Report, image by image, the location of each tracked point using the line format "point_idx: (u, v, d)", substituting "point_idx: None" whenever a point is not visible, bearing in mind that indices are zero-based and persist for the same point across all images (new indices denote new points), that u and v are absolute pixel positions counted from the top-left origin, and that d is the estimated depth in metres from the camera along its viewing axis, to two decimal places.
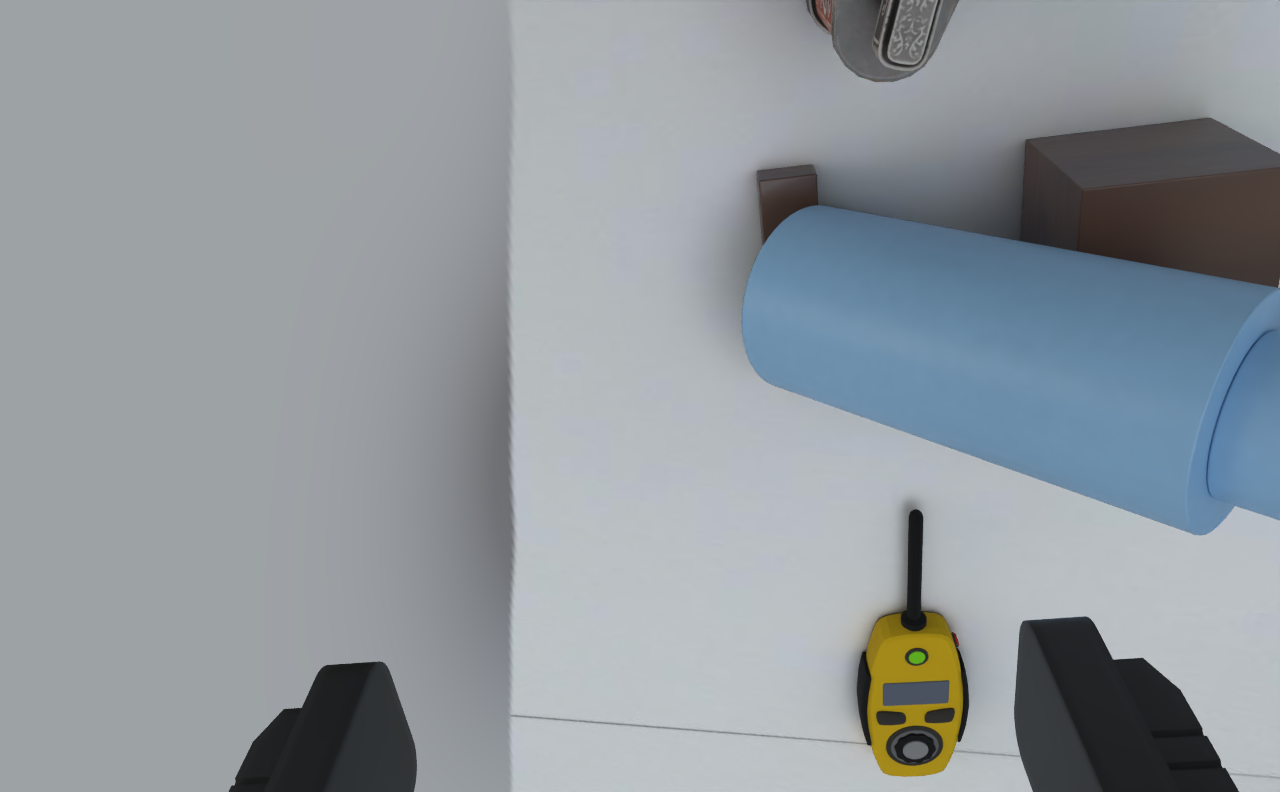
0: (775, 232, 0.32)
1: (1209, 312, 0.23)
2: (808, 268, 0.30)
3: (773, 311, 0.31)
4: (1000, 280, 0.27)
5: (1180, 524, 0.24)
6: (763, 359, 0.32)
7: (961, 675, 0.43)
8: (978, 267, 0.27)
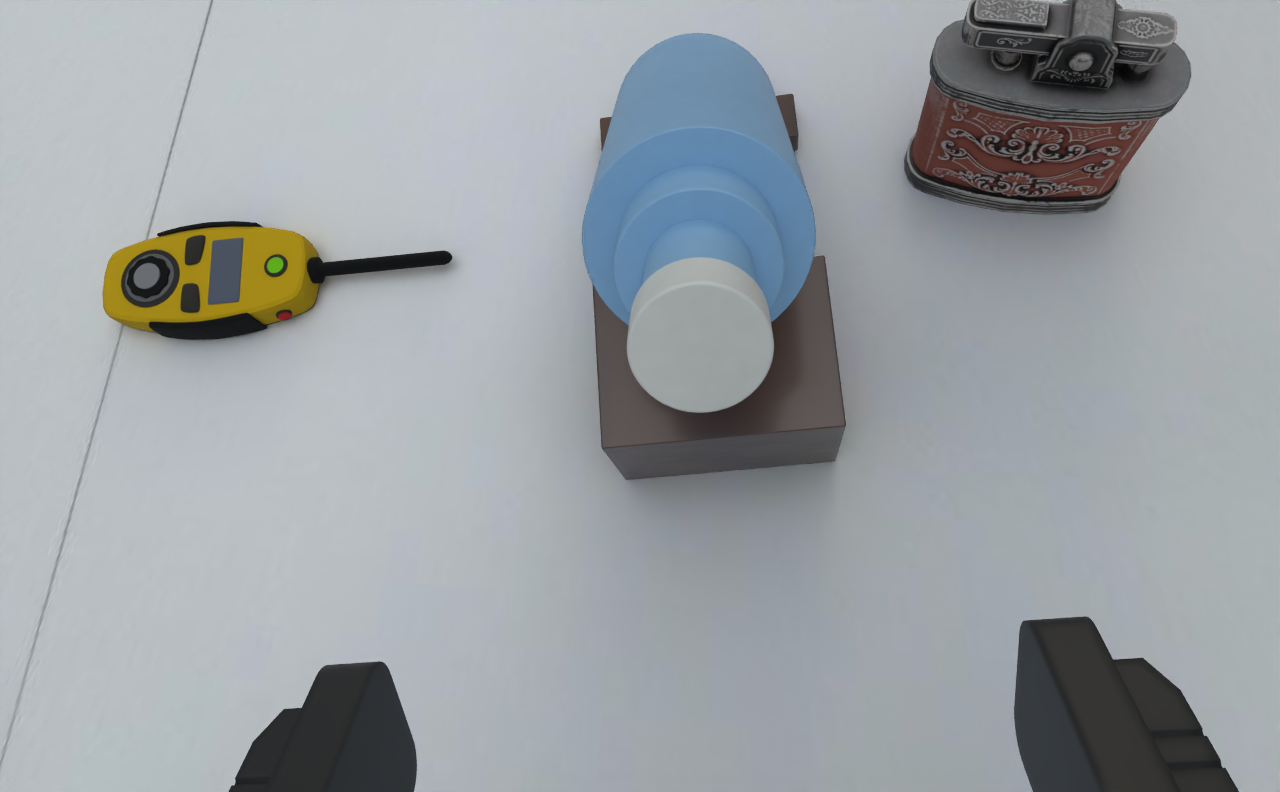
0: None
1: (804, 185, 0.27)
2: (753, 64, 0.36)
3: (714, 40, 0.36)
4: (783, 125, 0.31)
5: (614, 159, 0.26)
6: (664, 43, 0.37)
7: (243, 313, 0.40)
8: (784, 127, 0.32)
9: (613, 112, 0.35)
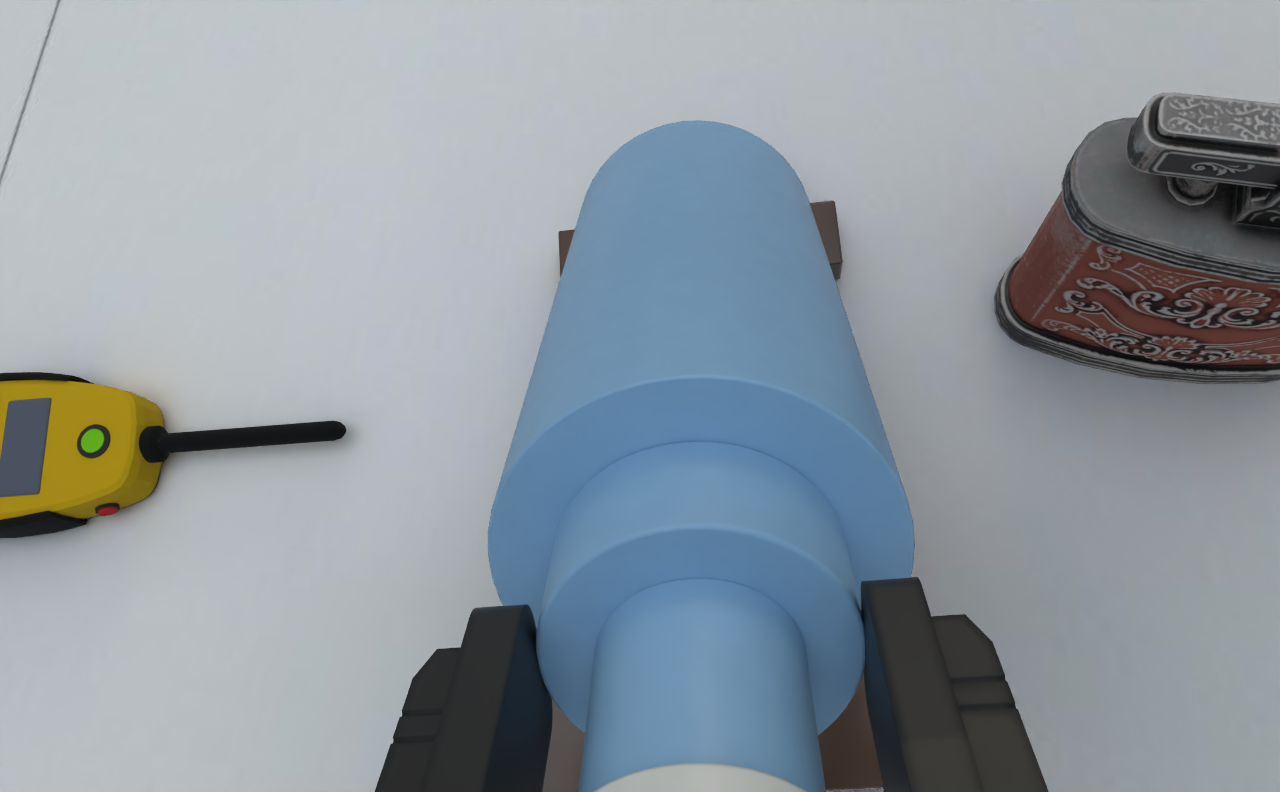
0: (798, 178, 0.26)
1: (892, 459, 0.15)
2: (781, 173, 0.24)
3: (723, 136, 0.24)
4: (838, 300, 0.19)
5: (543, 423, 0.14)
6: (649, 137, 0.25)
7: (45, 511, 0.28)
8: (838, 296, 0.20)
9: None
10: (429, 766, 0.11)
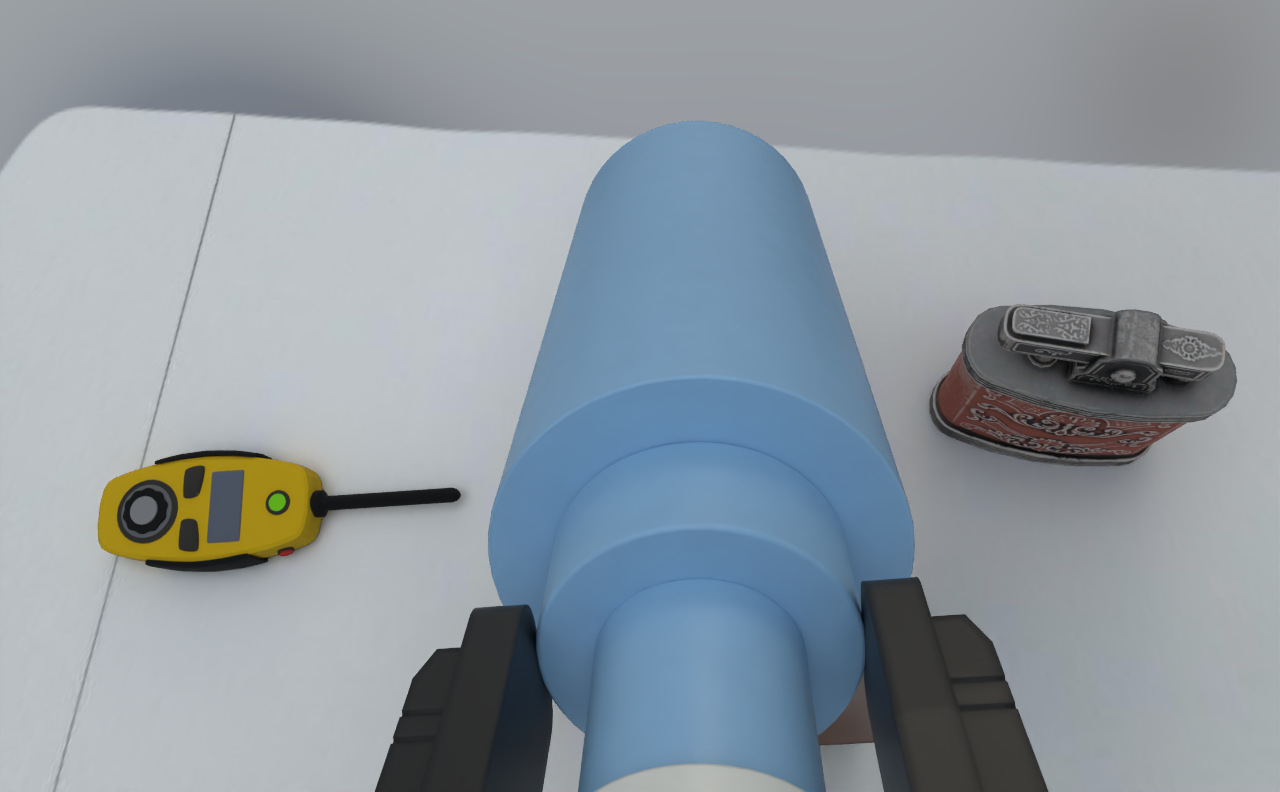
0: None
1: (893, 460, 0.15)
2: (782, 173, 0.24)
3: (723, 136, 0.24)
4: (838, 300, 0.19)
5: (543, 423, 0.14)
6: (650, 137, 0.25)
7: (244, 554, 0.39)
8: (839, 296, 0.20)
9: (570, 248, 0.23)
10: (429, 766, 0.11)
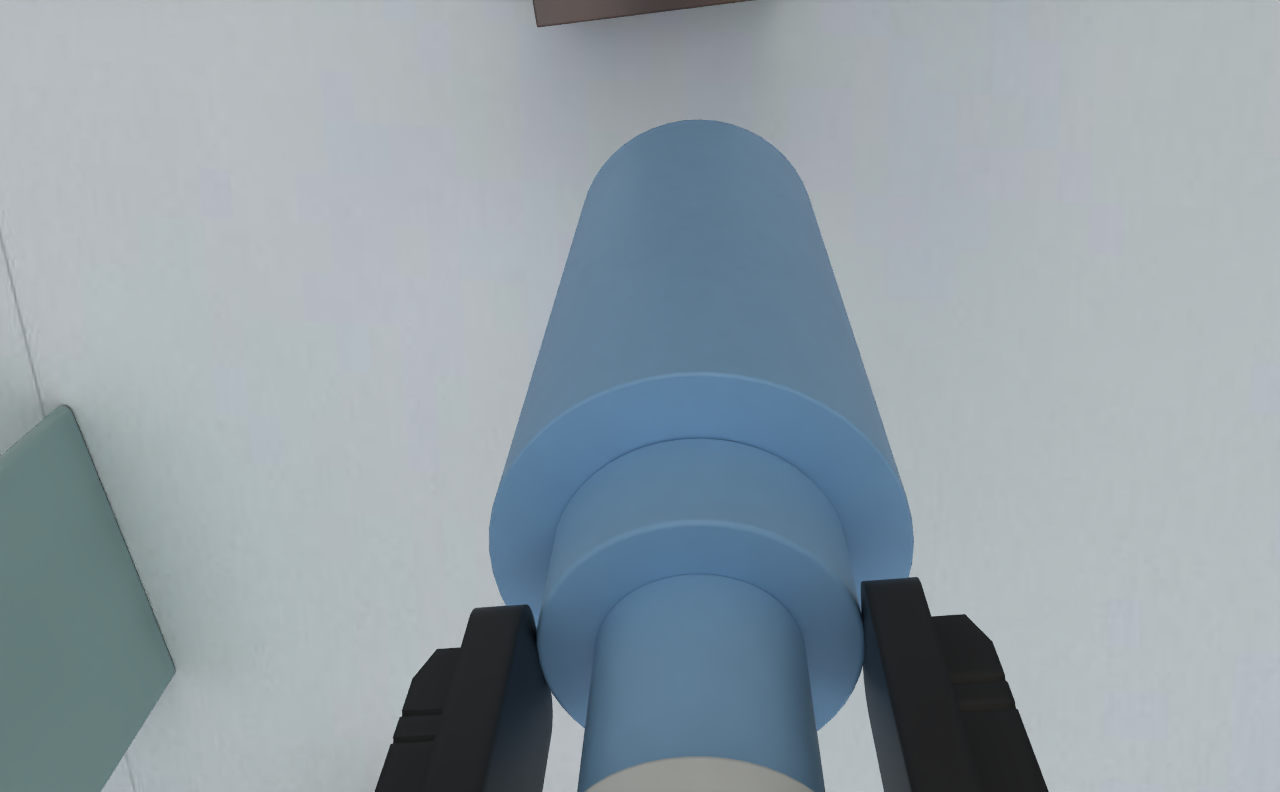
0: (799, 177, 0.26)
1: (892, 456, 0.15)
2: (782, 172, 0.24)
3: (724, 135, 0.24)
4: (838, 298, 0.19)
5: (544, 420, 0.14)
6: (650, 136, 0.25)
7: None
8: (839, 294, 0.20)
9: (571, 246, 0.23)
10: (429, 766, 0.11)
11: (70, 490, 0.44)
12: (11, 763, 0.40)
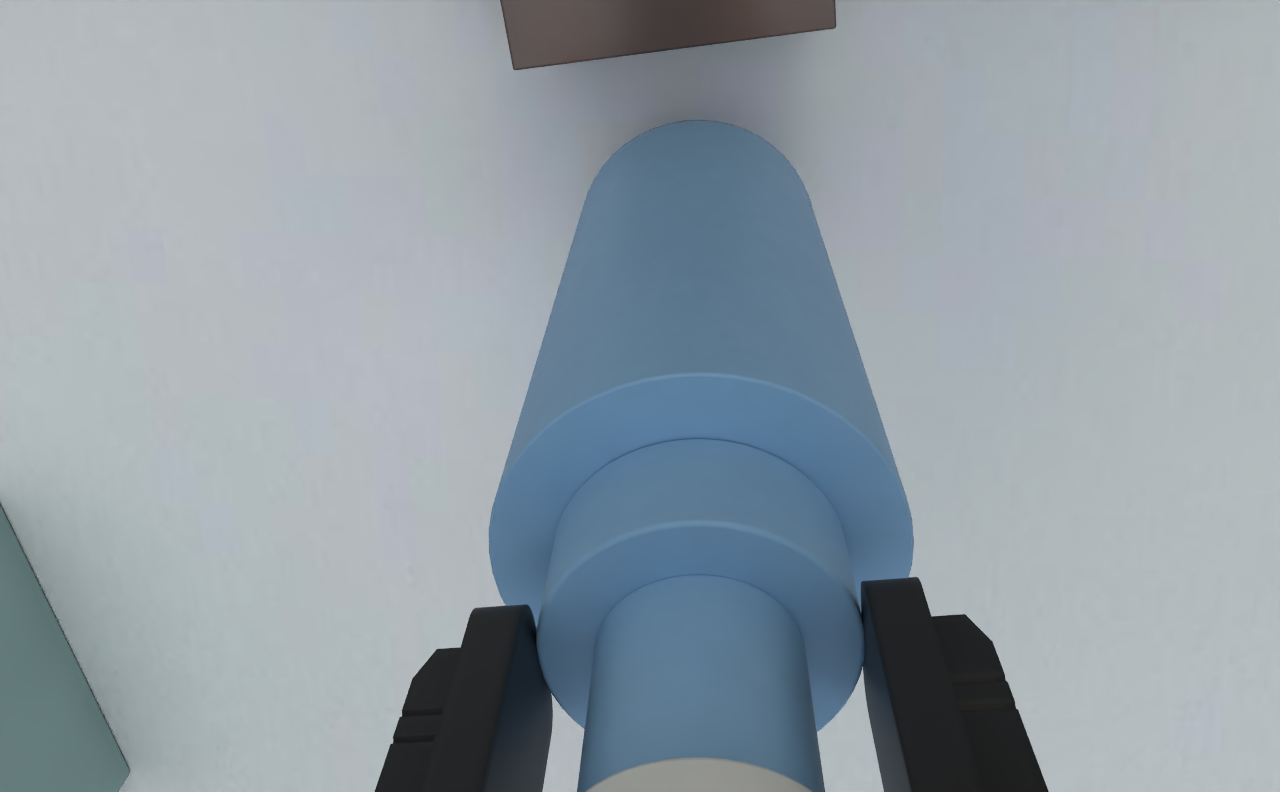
0: (799, 177, 0.26)
1: (892, 457, 0.15)
2: (782, 172, 0.24)
3: (724, 135, 0.24)
4: (838, 299, 0.19)
5: (544, 420, 0.14)
6: (650, 137, 0.25)
7: None
8: (839, 294, 0.20)
9: None
10: (429, 766, 0.11)
11: None
12: None
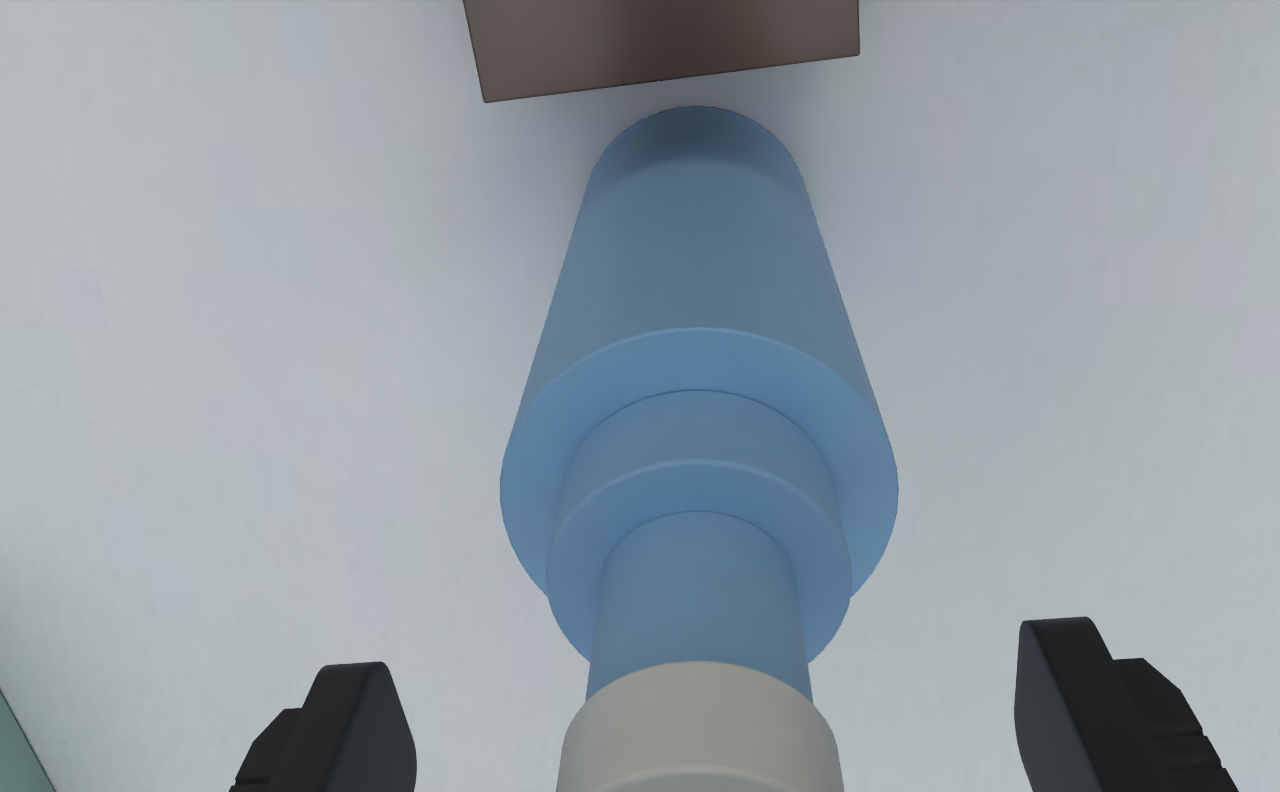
0: (793, 162, 0.27)
1: (878, 411, 0.16)
2: (777, 155, 0.25)
3: (721, 120, 0.25)
4: (829, 271, 0.20)
5: (552, 374, 0.15)
6: (651, 122, 0.26)
7: None
8: (830, 268, 0.21)
9: None
10: None
11: None
12: None
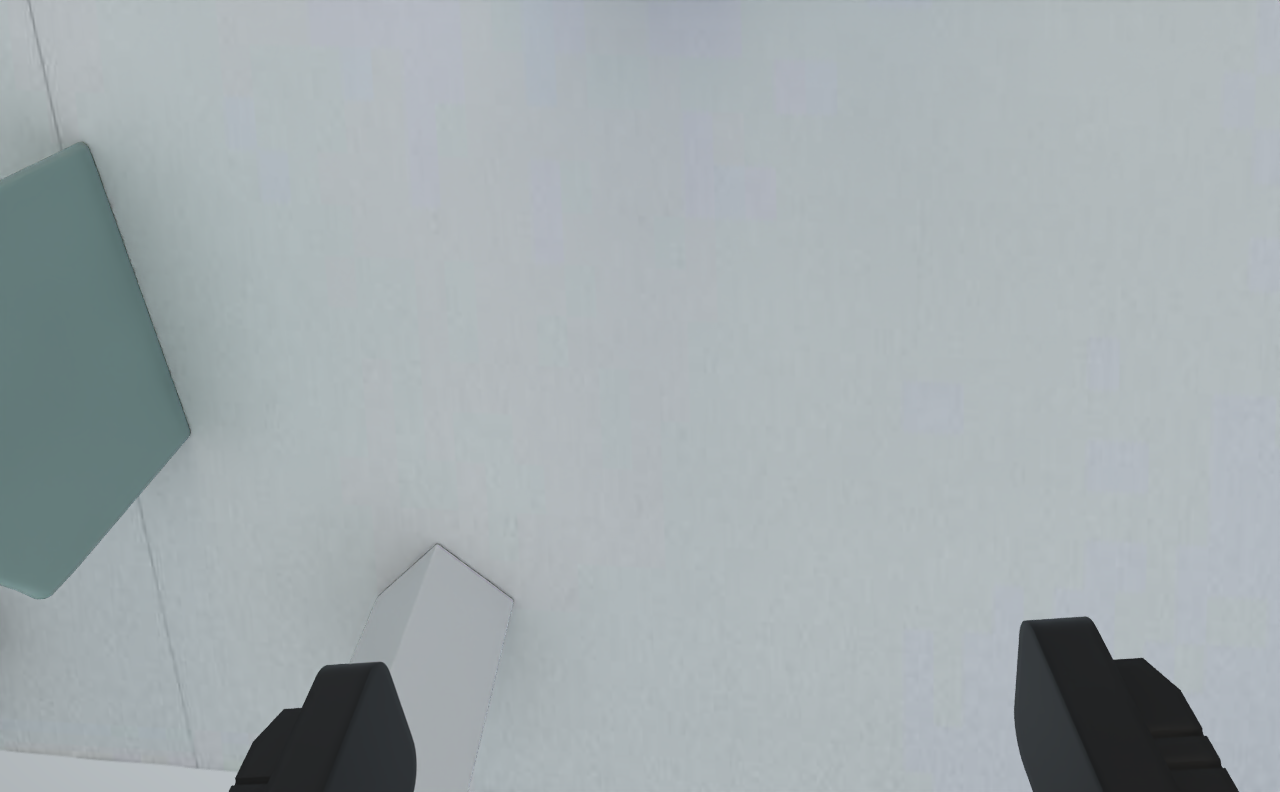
0: None
1: None
2: None
3: None
4: None
5: None
6: None
7: None
8: None
9: None
10: None
11: (88, 221, 0.46)
12: (37, 454, 0.42)
